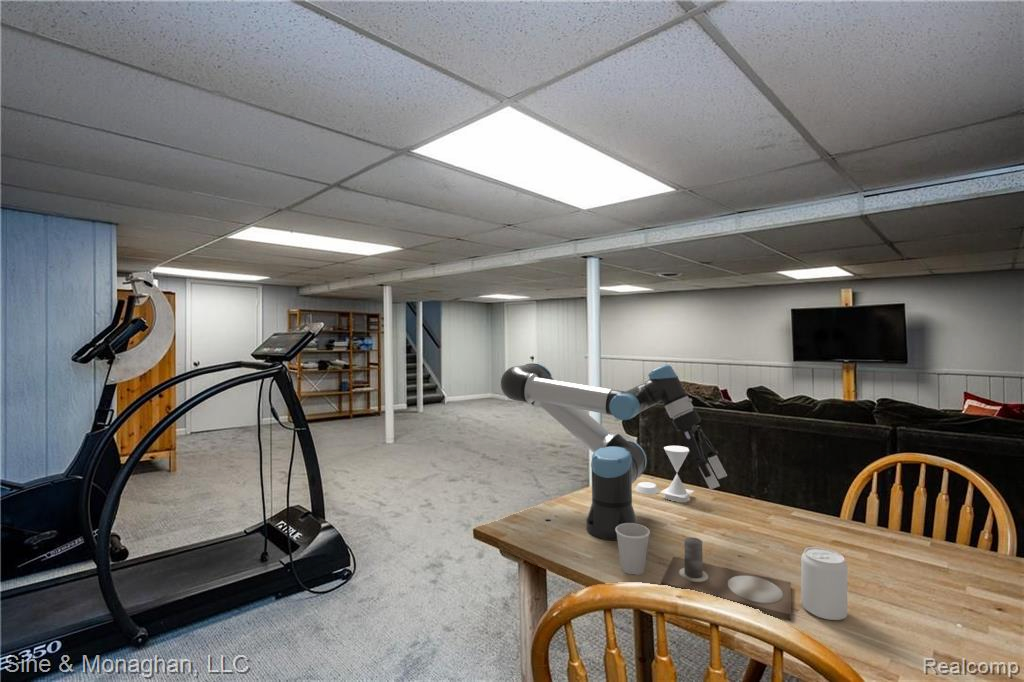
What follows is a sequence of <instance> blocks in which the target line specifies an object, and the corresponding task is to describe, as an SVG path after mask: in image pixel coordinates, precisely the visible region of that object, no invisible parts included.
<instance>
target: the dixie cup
mask: <svg viewBox="0 0 1024 682" xmlns="http://www.w3.org/2000/svg"><path fill="white" fill-rule="evenodd" d="M615 531H616V532H617V540H616V541H617V546H618V552H619V553H618V554H619V563H620V567H621V568H620V569H621V571H622V572H623V573H625V574H627V573H628V575H630V574H635V575H634V576H640V575H643V574H644V573H645V571H646V570H645V569H646V561H647V560H646V559H647V556H648V555H647V554H648V545H649V537H650V533H651V530H650V529H649V528H648V527H646V526H645V525H642V524H640V523H638V524H635V523H624V524H620V525H618V526H617V527H616V528H615ZM642 573H643V574H642Z"/></svg>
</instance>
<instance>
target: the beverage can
mask: <svg viewBox="0 0 1024 682" xmlns="http://www.w3.org/2000/svg"><path fill="white" fill-rule="evenodd" d="M800 557H801V562H800V563H801V564H800V567H801V571H800V573H801V574H800V576H801V579H800V581H801V583H800V585H801V586H800V587H801V588H800V590H801V591H800V592H801V593H800V597H801V598H800V599H801V600H800V601H801V602H800V603H801V606H802V607H803V608H804V609H805V610H806V611H807V612H809V613H810V614H812V615H814V616H815V617H818V618H820V619H823V620H830V621H840V620H844V619H845V618H847V616H848V565H847V562H846V561H845V557H844V556H843V555H842V554H841V553H839V552H837V551H835V550H831V549H828V548H824V547H817V546H810V547H806V548H805V549H804V550H803V553H802V554H801V556H800Z"/></svg>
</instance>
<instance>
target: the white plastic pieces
mask: <svg viewBox="0 0 1024 682" xmlns="http://www.w3.org/2000/svg"><path fill="white" fill-rule="evenodd" d="M663 449H664V451H665V454H666V455H667V456H668V459H669V461H670V463H671V465H672V467H673V468H674V471H675V472H676V474H675V475H674V478H673V480H672V481H671V483H670V484H669V486H667V487H666V488H665V489H663V490H661V491H660V490H659V488H658V486H657V484H656V483H654V482H650V481H641V482H638V483H637V485H636V487H635V488H634V491H635V490H636V491H637V492H640V493H645V494H655V495H657V494H656V493H658V494H659V493H661V494H664V495H663V497H665V498H666V500H667V499H668V500H667V501H669V500H671V501H670V502H673V501H676V502H675V503H687V501H688V502H690V501H691V497H690V495H691V494H692V493H694V492H695V490H691V489H687V488H685V486H684V484H683V482H682V480H681V478H680V476H679V474H678V472H679V471H680V468H681V467H682V465H683V463H684V461H685V460H686V457H687V456H688V454H690V451H689V449H688V446H681V445H667V446H664V447H663ZM636 491H635V492H636ZM637 492H636V493H637ZM640 493H639V494H640ZM665 498H664V499H665Z"/></svg>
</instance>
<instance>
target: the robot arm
mask: <svg viewBox="0 0 1024 682" xmlns="http://www.w3.org/2000/svg"><path fill="white" fill-rule="evenodd" d="M501 376H502V377H501V378H500V388H501V391H502V393H503V394H504V396H505V397H507V398H508V399H510V400H512V401H515V402H523V403H526V404H527V403H528V404H531V405H532V406H533V407H535V408H540V407H541V408H542V409H543V410H544V411H545V412H547V413H548V414H549V415H550V416H551V417H552V418H553V419H555V421H557V423H559V424H560V425H561V426H562V427H564V428H565V429H566V430H567V431H568V432H569V433H571V435H573V436H574V437H575V438H576V439H578V441H579V442H581V443H582V444H583V445H584V446H585V447H587V449H589V450H590V451H591V452H592V455H591V462H590V468H591V505H590V508H589V512H588V514H587V518H586V530H587V532H588V533H589V534H590V535H592V536H594V537H596V538H599V539H603V540H610V541H618V540H617V532H616V531H615V528H616V527H617V526H618V525H620V524H624V523H635V524H639V521H638V519H637V517H636V516H637V515H636V513H635V509H634V506H633V490H632V489H633V484H634V482H635V481H637V479H639V478H640V477H641V476H642V475H643V474H644V472H645V470H646V467H647V462H648V461H647V455H646V452H645V450H644V449H643V447H642V446H641V445H640V444H638V443H637V442H635V441H632V440H627V439H626V438H624V437H623V436H622V435H620V434H619V433H616V432H615V433H612V432H610V431H609V430H608V429H606V428H605V427H604V426H603V425H602V424H600V423H599V422H598V421H597V420H596V419H594V418H593V417H592V416H591V415H590V414H589V413H587V412H586V411H588V412H594V413H599V414H605V415H609V416H613V417H614V418H616V419H617V420H620V421H627V420H631V419H633V418H635V417H636V416H637V415H638V414H641V413H642V412H643V411H645V410H647V409H649V408H651V407H654V406H655V405H657V404H660V403H661V402H662V404H663V406H664V409H665V410H666V412H667V414H668V417H669V418H670V419H672V421H671V422H672V424H673V425H674V427H675V429H676V431H677V432H679V431H680V432H681V431H683V430H684V432H683V433H682V436H683V438H684V442H685V443H686V445H687V446H686V447H687V448H688V449H689V454H690V457H691V459H692V462H693V466H694V468H695V469H697V468H698V469H699V471H700V473H701V475H702V476H703V478H704V480H705V483H706V485H707V486H708V488H709V490H713V489H716V488H718V487H720V486H721V485H720V483H719V481H718V480H721V479H723V478H726V477H728V474H727V472H726V470H725V469H724V466H723V464H722V463H721V461H720V459H719V457H718V456H717V455H719V451H718V450H716V449H715V447H714V446H713V445H712V442H711V441H710V440H709V438H708V437H707V436H706V434H705V433H704V430H702V429H703V428H702V427H701V425H696V424H698V423H700V422H702V421H701V418H700V416H699V414H698V412H697V410H694V408H695V407H694V405H693V404H692V402H693V399H692V398H691V397H690V398H689V395H688V394H687V392H686V391H685V388H684V386H683V384H682V383H681V381H680V379H679V376H678V375H677V373H676V372H675V370H674V369H673V367H672V366H671V365H670V364H664V365H661V366H659V367H657V368H654V369H653V370H651V371H650V372H649V373H648V380H647V381H645V382H644V383H641V384H639V385H637V386H634V387H633V388H630V389H628V390H624V391H622V390H619V389H618V390H617V389H611V388H606V387H600V386H599V387H598V386H593V385H589V384H588V385H587V384H580V383H576V382H575V383H574V382H568V381H562V380H555V379H554V378H553V377H552V373H551V371H550V370H549V369H548V367H546V366H545V365H543V364H541V363H535V362H531V363H526V364H523V365H515V366H511V367H510V368H507V369H506V371H504V373H503V374H502V375H501ZM705 455H706V457H707V461H708V462H707V461H706V457H705ZM713 471H714V472H713ZM714 473H715V474H714ZM717 479H718V480H717Z"/></svg>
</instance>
